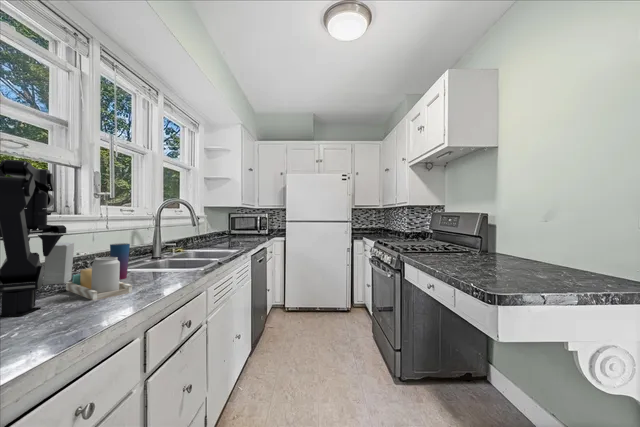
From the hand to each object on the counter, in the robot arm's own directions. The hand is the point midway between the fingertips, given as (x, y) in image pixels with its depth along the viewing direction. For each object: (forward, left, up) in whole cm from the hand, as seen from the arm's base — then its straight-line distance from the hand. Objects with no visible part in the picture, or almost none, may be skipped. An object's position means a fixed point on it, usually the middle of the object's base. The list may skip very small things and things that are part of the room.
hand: (33, 258), depth 89 cm
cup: (+28, -11, -13) cm, 33 cm away
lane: (+7, -15, -13) cm, 21 cm away
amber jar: (+10, -11, -12) cm, 20 cm away
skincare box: (+23, +8, -13) cm, 28 cm away
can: (+3, -19, -13) cm, 23 cm away
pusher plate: (+13, -8, -12) cm, 19 cm away
